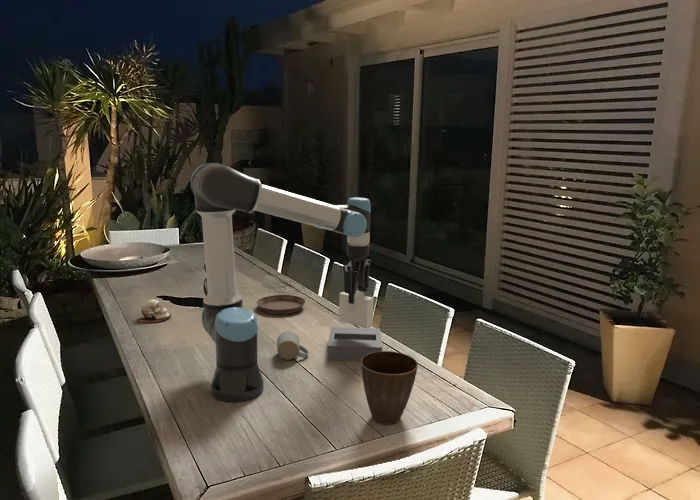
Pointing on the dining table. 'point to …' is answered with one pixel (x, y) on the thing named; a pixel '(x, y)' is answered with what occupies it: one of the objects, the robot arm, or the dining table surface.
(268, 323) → the dining table surface
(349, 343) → the plate
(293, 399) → the dining table surface
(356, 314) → the bar
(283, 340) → the ceramic mug
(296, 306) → the plant saucer
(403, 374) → the plant pot
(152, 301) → the skull
